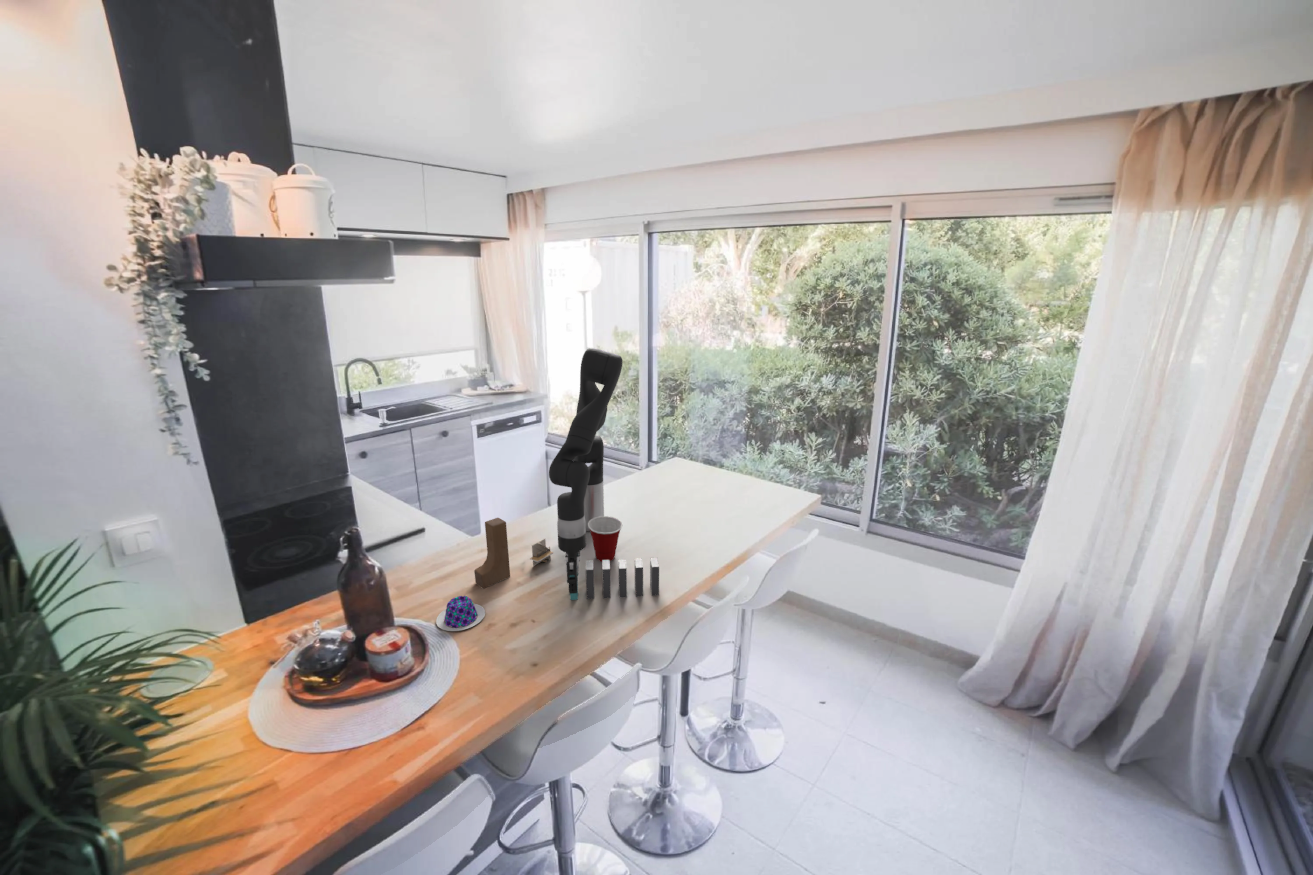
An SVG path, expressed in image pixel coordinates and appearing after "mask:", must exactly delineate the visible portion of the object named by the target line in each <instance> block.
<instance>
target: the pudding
mask: <svg viewBox="0 0 1313 875" xmlns="http://www.w3.org/2000/svg"><path fill="white" fill-rule="evenodd" d="M485 616H486V610H485V608H484V607H483V606H482V605H480V604H477V603H474V602H473V600H472V599H471V598H470V597H469V596H466V595H459V596H457V597H456V596H455V597H453V598H451V599H450V600H449V601H448V602H447V605H446V607H445V609H444V610H442V611H441V612H440V613H438V616H437V617H436V620H435V623H436V626H437V627H438V628H440V629H441V630H443V631H448V632H459V631H460V632H461V631H464V630H467V629H470V628H472V627H474V626H476V625H478V624H480V622H481V621H483V620H484V618H485Z"/></svg>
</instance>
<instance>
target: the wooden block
mask: <svg viewBox="0 0 1313 875" xmlns="http://www.w3.org/2000/svg"><path fill="white" fill-rule="evenodd" d="M484 529H485V537H486V538H485V539H486V550H487V555H486V559H485V560H484V561H483V564H482V565H480V566H478V567H476V568H475V569H474V571H473V572H474V579H475V580H474V581H475V584H476V585H477V586H478V587H480V588H481V589H486V588H488V587H492V586H493V585H495V584H497V583H499V582H502V581H505V580H506V579H509V578H510V577H511V569H510V568H511V567H510V556H509V546H508V545H509V543H508V533H507V532H508V531H507V530H508V529H507V522H506V521H505V520H503V519H501V518H500V517H495V518H492V519H489V520H487V521H484Z"/></svg>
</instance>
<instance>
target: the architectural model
mask: <svg viewBox="0 0 1313 875" xmlns="http://www.w3.org/2000/svg"><path fill="white" fill-rule="evenodd" d="M546 542H547V541H546V538H543V539H541V540H540V541H537V542H535V543H534V544H532V545H531V554H532V557H530V558H529V559H530V560H531V561H532V566H533V567H535V566H537V564H540V563H542V562H543V563H547V560H549V561H551V560H552V556H551V555H554V551H551V546H549V547H547V546H546V545H547V543H546Z"/></svg>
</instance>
